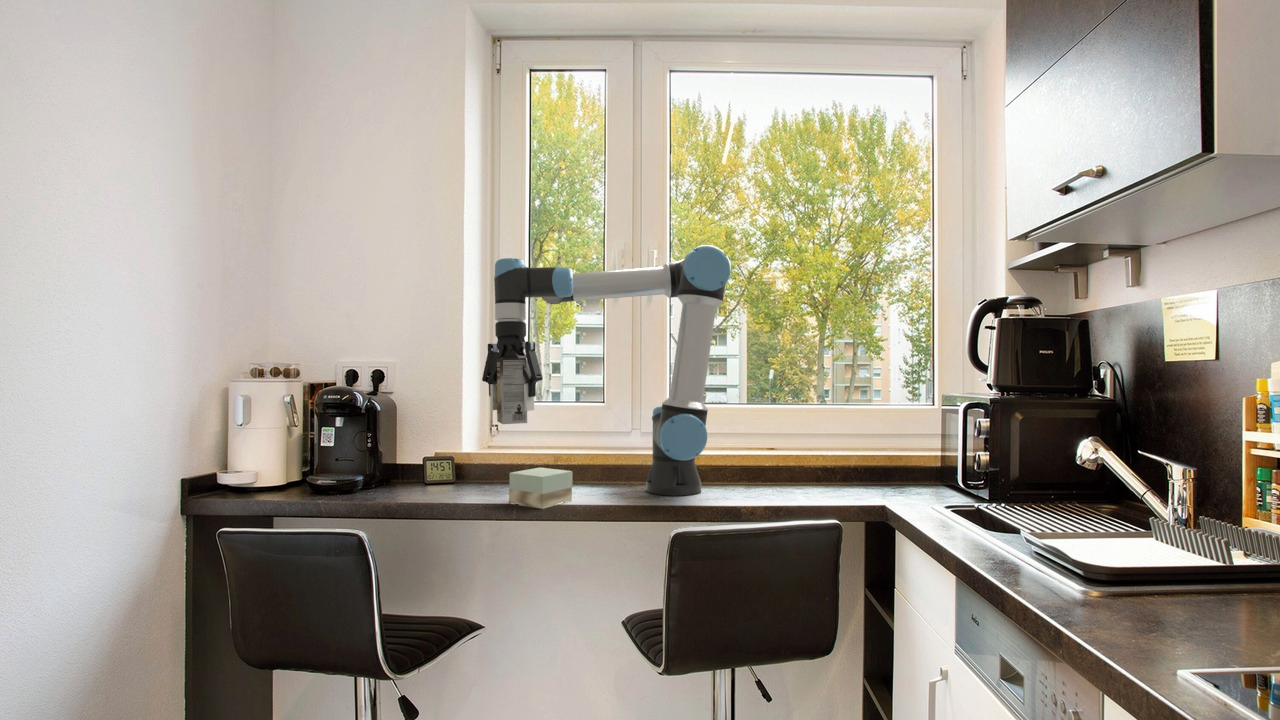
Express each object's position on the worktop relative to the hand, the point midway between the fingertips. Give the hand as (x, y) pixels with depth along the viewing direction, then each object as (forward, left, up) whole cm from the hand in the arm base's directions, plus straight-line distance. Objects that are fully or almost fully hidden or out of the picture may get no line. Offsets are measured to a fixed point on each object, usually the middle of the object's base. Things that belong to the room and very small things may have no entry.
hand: (512, 410), depth 157 cm
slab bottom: (-6, -5, -23) cm, 25 cm away
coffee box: (0, 0, -3) cm, 3 cm away
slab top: (-6, -5, -19) cm, 21 cm away
